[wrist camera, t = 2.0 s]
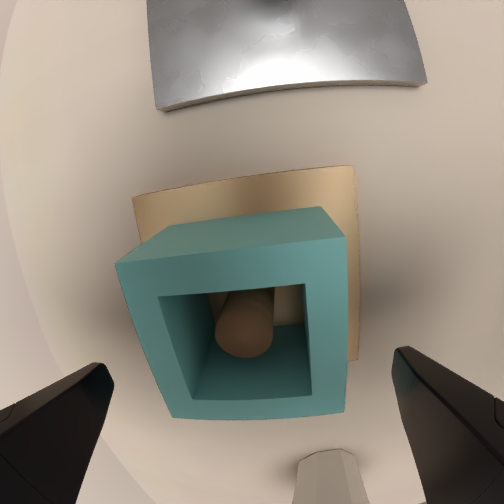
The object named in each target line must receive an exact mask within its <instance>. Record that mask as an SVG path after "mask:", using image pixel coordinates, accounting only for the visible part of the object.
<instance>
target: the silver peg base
mask: <svg viewBox="0 0 504 504" xmlns="http://www.w3.org/2000/svg"><path fill="white" fill-rule="evenodd" d="M147 18H148V33H149V47H150V58H151V69H152V79H153V88H154V96H155V105H156V109H157V110H160V111H163V112H167V111H171V110H174V109H178V108H182V107H187V106H191V105H195V104H200V103H204V102H209V101H214V100H219V99H224V98H230V97H235V96H241V95H248V94H254V93H261V92H268V91H276V90H285V89H295V88H306V87H320V86H339V85H396V86H415V87H419V86H421V85H424V84H426V83H427V78H426V73H425V69H424V65H423V61H422V57H421V53H420V49H419V45H418V42H417V38H416V35H415V32H414V29H413V25H412V22H411V19H410V16H409V13H408V10H407V8H406V5H405V2H404V0H147Z"/></svg>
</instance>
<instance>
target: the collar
mask: <svg viewBox="0 0 504 504" xmlns="http://www.w3.org/2000/svg"><path fill="white" fill-rule="evenodd" d="M115 267H116V270H117V274H118V277H119V281H120V284H121V287H122V290H123V294H124V297H125V300H126V303H127V306H128V309H129V312H130V315H131V318H132V321H133V324H134V327H135V329H136V332H137V335H138V338H139V340H140V343H141V346H142V348H143V351H144V353H145V356H146V358H147V361H148V363H149V366H150V368H151V371H152V373H153V375H154V378H155V380H156V382H157V385H158V387H159V389H160V391H161V394H162V396H163V398H164V400H165V402H166V405H167V407H168V409H169V411H170V413H171V415H172V417H173V418H184V419H203V420H266V419H284V418H298V417H308V416H318V415H326V414H334V413H341V412H344V406H345V392H346V375H347V351H348V273H347V249H346V236H345V235H344V234H343V232H342V231H341V230H340V229H339V227H338V226H337V225H336V224H335V223H334V221H333V220H332V219H331V218H330V216H329V215H328V214H327V213H326V212H325V210H324V209H323V208H322V207H321V206H316V207H307V208H298V209H289V210H281V211H272V212H264V213H256V214H248V215H240V216H233V217H226V218H218V219H211V220H204V221H197V222H190V223H184V224H177V225H170V226H168V227H166V228H165V229H163V230H162V231H160V232H159V233H157V234H156V235H154V236H153V237H151V238H150V239H148V240H147V241H146V242H144V243H143V244H141V245H140V246H138V247H137V248H135V249H134V250H133V251H131V252H130V253H128V254H127V255H126V256H124V257H123V258H121V259H120V260H119V261H117V262H116V263H115ZM295 284H301V291H302V302H303V315H304V323H302V324H293V325H282V326H273V337H272V342H271V345H270V347H269V348H268V349H267V350H266V351H265V352H264V353H263V354H261V355H259V356H256V357H253V358H239V357H235V356H232V355H230V354H228V353H227V352H225V351H224V350H223V349H222V348H221V347H220V346H219V344H218V343H217V341H216V338H215V327H216V326H215V322H214V318H213V313H212V309H211V305H210V300H209V296H208V293H212V292H224V291H235V290H246V289H256V288H267V287H276V286H286V285H295Z"/></svg>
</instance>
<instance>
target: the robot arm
mask: <svg viewBox="0 0 504 504" xmlns="http://www.w3.org/2000/svg"><path fill="white" fill-rule="evenodd" d="M392 379H393V383H394V387H395V392H396V396H397V401H398V405H399V410H400V414H401V419H402V422H403V425H404V428H405V431H406V434H407V437H408V440H409V443H410V447H411V450H412V453H413V456H414V459H415V463H416V466H417V469H418V473H419V476H420V479H421V483H422V487H423V490H424V494H425V498H426V501H427V504H504V402H503V401H502V400H500V399H498V398H497V397H496V398H495V397H494V396H493V395H491V394H490V393H488V392H486V391H485V390H483V389H481V388H480V387H478V386H476V385H475V384H473V383H471V382H469V381H468V380H466V379H464V378H463V377H461V376H459V375H458V374H456V373H454V372H453V371H451V370H449V369H448V368H446V367H444V366H442V365H441V364H439V363H437V362H436V361H434V360H432V359H431V358H429V357H427V356H426V355H424V354H422V353H420V352H419V351H417V350H415V349H414V348H412V347H410V346H404V347H399V348H397V349H395V352H394V358H393V365H392ZM113 390H114V381H113V379H112V377H111V375H110V373H109V371H108V369H107V367H106V365H105V364H103V363H97V362H93V363H91V364H89V365H87V366H85V367H83V368H82V369H80V370H78V371H76V372H74V373H72V374H70V375H68V376H66V377H65V378H63V379H61V380H59V381H57V382H55V383H53V384H51V385H50V386H47V387H45V388H44V389H42V390H40V391H38V392H36V393H34V394H32V395H30V396H28V397H26V398H24V399H22V400H20V401H18V402H17V403H16V404H12V405H10V406H9V407H6V408H4V409H2V410H0V504H75V503H76V500H77V497H78V494H79V491H80V488H81V485H82V482H83V479H84V476H85V473H86V470H87V468H88V465H89V462H90V459H91V456H92V454H93V451H94V448H95V446H96V443H97V440H98V438H99V435H100V433H101V430H102V427H103V424H104V421H105V418H106V414H107V411H108V407H109V404H110V400H111V397H112V393H113Z"/></svg>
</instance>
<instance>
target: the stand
mask: <svg viewBox="0 0 504 504" xmlns="http://www.w3.org/2000/svg"><path fill="white" fill-rule="evenodd" d="M132 201H133V206H134V211H135V216H136V220H137V225H138V230H139V234H140V238H141V243H142V244H143V243H144V242H146V241H147V240H148V239H150V238H151V237H153V236H154V235H156V234H157V233H159V232H160V231H162V230H163V229H165V228H166V227H168V226H170V225H177V224H184V223H190V222H197V221H204V220H211V219H218V218H226V217H233V216H240V215H248V214H256V213H264V212H272V211H281V210H289V209H298V208H307V207H316V206H321V207H322V208H323V209H324V210H325V212H326V213H327V214H328V215H329V216H330V218H331V219H332V220H333V221H334V223H335V224H336V225H337V226H338V227H339V229H340V230H341V231H342V232H343V234H344V235H345V236H346V249H347V273H348V351H347V361H353V360H358V348H359V324H360V254H359V230H358V213H357V199H356V187H355V177H354V167H353V165H345V166H333V167H322V168H311V169H302V170H293V171H284V172H276V173H268V174H260V175H253V176H246V177H239V178H232V179H226V180H220V181H213V182H207V183H201V184H196V185H190V186H185V187H179V188H174V189H169V190H164V191H159V192H154V193H149V194H144V195H139V196H136V197H133V198H132ZM208 296H209V300H210V305H211V309H212V313H213V318H214V322H215V326H216V327H215V338H216V341H217V343H218V344H219V346H220V347H221V348H222V349H223V350H224V351H225V352H227V353H228V354H230V355H232V356H235V357H239V358H253V357H256V356H259V355H261V354H263V353H264V352H265V351H266V350H267V349H268V348H269V347H270V345H271V342H272V337H273V326H282V325H293V324H302V323H304V315H303V302H302V291H301V284H295V285H286V286H276V287H267V288H256V289H246V290H235V291H224V292H212V293H208Z"/></svg>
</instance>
